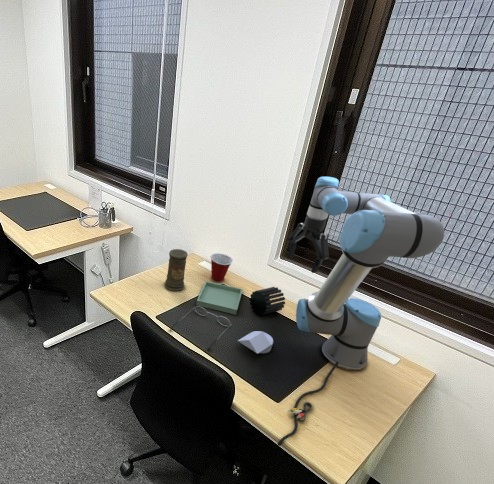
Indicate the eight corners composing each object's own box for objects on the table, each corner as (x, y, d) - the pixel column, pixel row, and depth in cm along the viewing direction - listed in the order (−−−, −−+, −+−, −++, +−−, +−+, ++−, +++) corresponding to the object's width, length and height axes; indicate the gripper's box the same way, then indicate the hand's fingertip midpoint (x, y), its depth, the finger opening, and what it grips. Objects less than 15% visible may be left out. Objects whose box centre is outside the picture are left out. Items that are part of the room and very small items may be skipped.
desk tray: (236, 314, 164) (237, 309, 162) (196, 305, 169) (196, 300, 168) (241, 293, 179) (242, 289, 177) (204, 285, 184) (205, 280, 182)
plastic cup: (223, 287, 183) (227, 265, 177) (203, 279, 188) (206, 258, 182) (232, 278, 190) (237, 257, 184) (212, 271, 196) (216, 250, 189)
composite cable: (306, 402, 123) (308, 397, 122) (319, 413, 120) (321, 407, 118) (286, 414, 119) (288, 408, 117) (298, 425, 115) (300, 420, 114)
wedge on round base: (255, 360, 139) (275, 347, 146) (259, 346, 136) (280, 333, 143) (235, 347, 145) (256, 335, 152) (239, 333, 142) (259, 321, 149)
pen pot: (263, 320, 161) (269, 299, 155) (247, 306, 169) (252, 286, 164) (281, 315, 165) (288, 294, 159) (265, 302, 173) (270, 282, 167)
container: (162, 282, 184) (165, 249, 175) (179, 280, 187) (183, 247, 177) (169, 292, 177) (173, 258, 168) (186, 290, 180) (191, 256, 170)
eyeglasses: (231, 328, 156) (233, 320, 153) (208, 352, 143) (210, 344, 141) (193, 310, 165) (194, 303, 163) (169, 332, 153) (170, 324, 150)
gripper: (350, 227, 142) (332, 276, 153) (300, 206, 161) (287, 251, 172) (335, 230, 139) (318, 280, 150) (286, 207, 158) (274, 253, 169)
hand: (301, 264), depth 161 cm, fingers open, 13 cm apart
